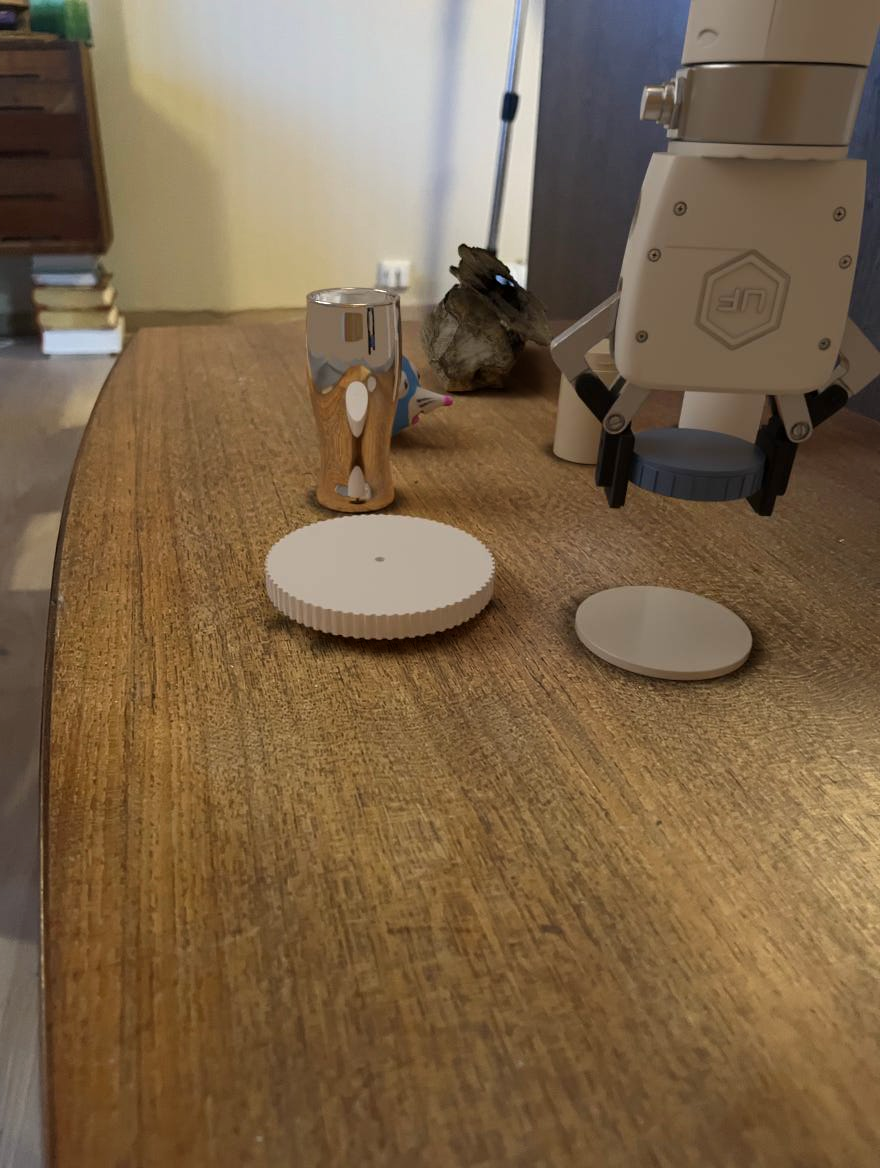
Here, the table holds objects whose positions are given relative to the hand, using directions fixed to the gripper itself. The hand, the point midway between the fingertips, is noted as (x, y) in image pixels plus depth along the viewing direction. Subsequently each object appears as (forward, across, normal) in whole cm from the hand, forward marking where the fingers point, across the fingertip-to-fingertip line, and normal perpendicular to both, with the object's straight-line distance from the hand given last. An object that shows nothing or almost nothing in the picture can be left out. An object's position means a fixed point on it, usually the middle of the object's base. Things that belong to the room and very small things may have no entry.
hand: (684, 500), depth 47 cm
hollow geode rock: (+8, -10, +61) cm, 63 cm away
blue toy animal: (+9, -19, +33) cm, 39 cm away
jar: (+8, -1, +32) cm, 33 cm away
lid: (-3, 0, 0) cm, 3 cm away
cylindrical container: (+8, +12, +38) cm, 41 cm away
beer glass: (+9, -20, +19) cm, 29 cm away
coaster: (+8, 0, 0) cm, 8 cm away
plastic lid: (+9, -17, +3) cm, 19 cm away
